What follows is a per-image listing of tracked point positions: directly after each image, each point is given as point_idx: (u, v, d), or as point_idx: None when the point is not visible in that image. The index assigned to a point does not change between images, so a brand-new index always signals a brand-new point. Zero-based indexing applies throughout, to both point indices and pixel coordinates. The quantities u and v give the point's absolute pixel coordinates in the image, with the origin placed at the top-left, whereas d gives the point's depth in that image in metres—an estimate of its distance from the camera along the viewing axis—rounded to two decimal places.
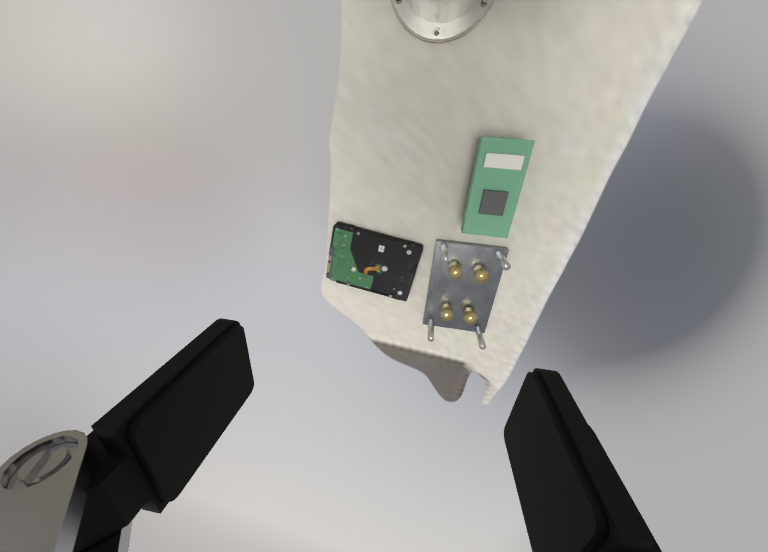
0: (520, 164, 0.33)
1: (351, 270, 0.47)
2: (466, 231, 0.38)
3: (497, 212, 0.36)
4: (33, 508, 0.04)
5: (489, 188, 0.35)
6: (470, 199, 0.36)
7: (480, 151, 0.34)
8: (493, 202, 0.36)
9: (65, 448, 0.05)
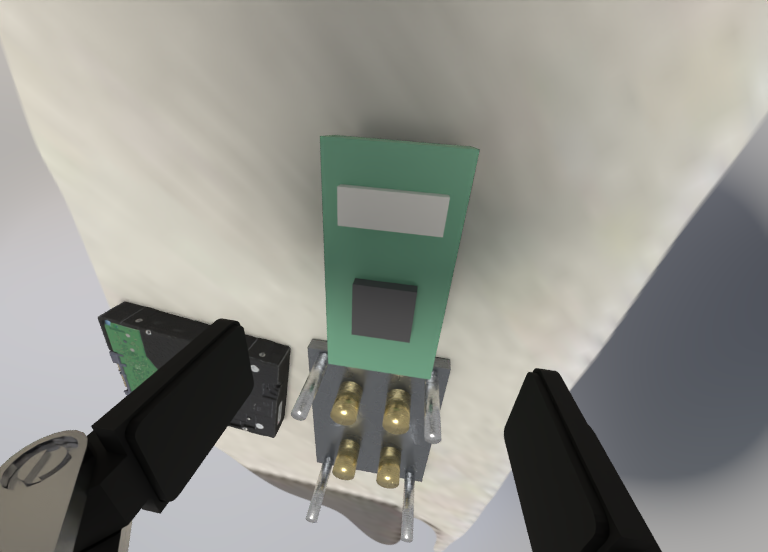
0: (440, 221, 0.11)
1: None
2: (336, 361, 0.16)
3: (395, 334, 0.14)
4: (33, 508, 0.04)
5: (369, 276, 0.13)
6: (328, 298, 0.14)
7: (324, 180, 0.11)
8: (380, 312, 0.13)
9: (65, 448, 0.05)
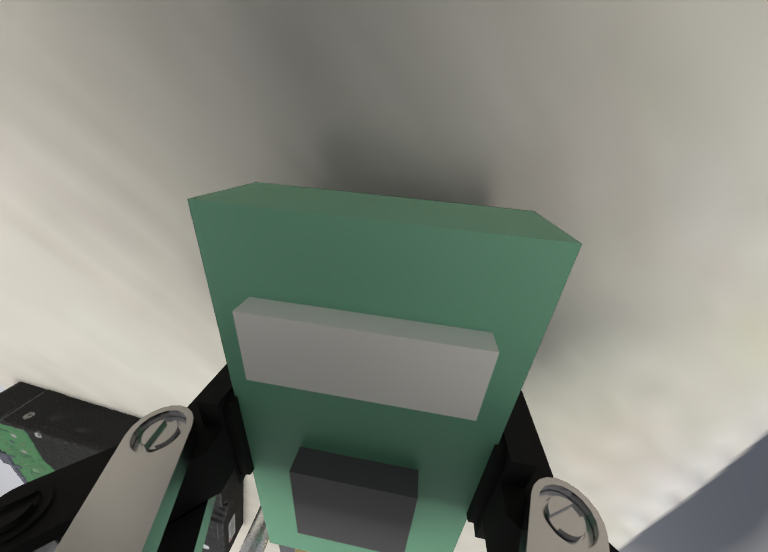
0: (471, 393, 0.05)
1: None
2: (282, 542, 0.10)
3: (377, 544, 0.07)
4: (144, 477, 0.05)
5: (325, 446, 0.07)
6: (256, 467, 0.08)
7: (215, 288, 0.05)
8: (347, 514, 0.07)
9: (176, 422, 0.06)
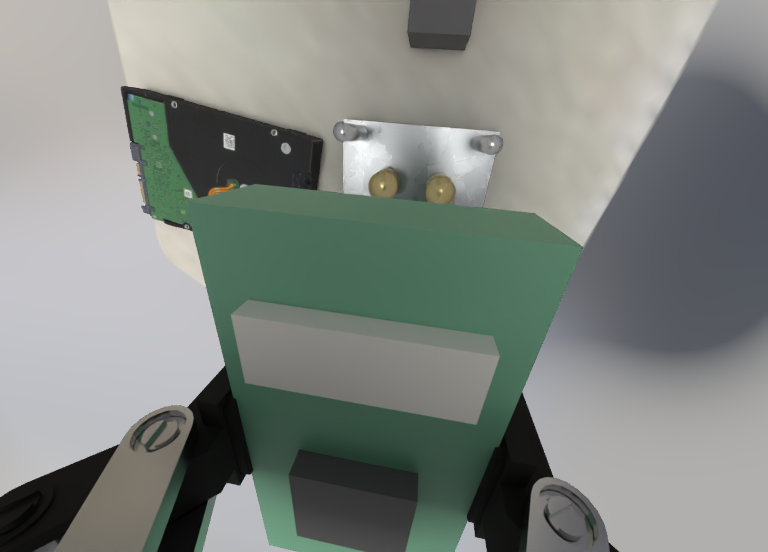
0: (471, 397, 0.05)
1: (185, 197, 0.23)
2: (281, 544, 0.10)
3: (376, 547, 0.07)
4: (145, 476, 0.05)
5: (325, 449, 0.07)
6: (255, 470, 0.08)
7: (213, 290, 0.05)
8: (347, 517, 0.07)
9: (177, 422, 0.06)
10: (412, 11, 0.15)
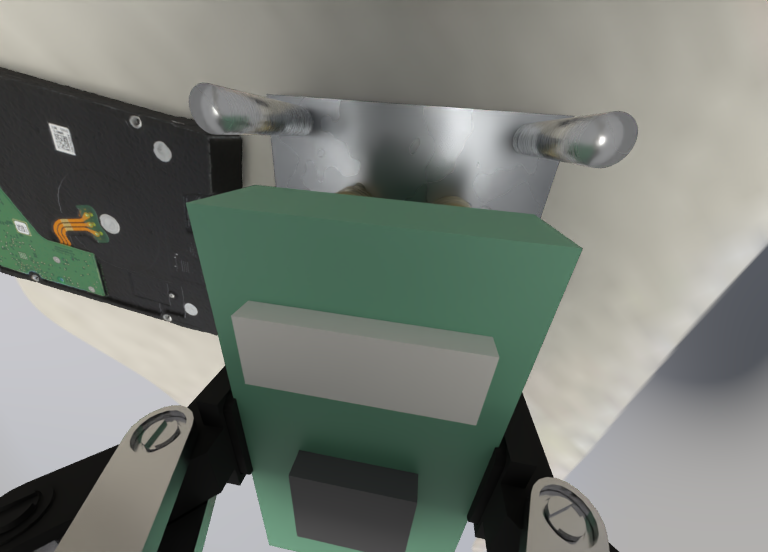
0: (471, 398, 0.05)
1: (19, 233, 0.14)
2: (281, 544, 0.10)
3: (376, 547, 0.07)
4: (145, 477, 0.05)
5: (325, 450, 0.07)
6: (255, 470, 0.08)
7: (214, 291, 0.05)
8: (347, 518, 0.07)
9: (177, 422, 0.06)
10: None
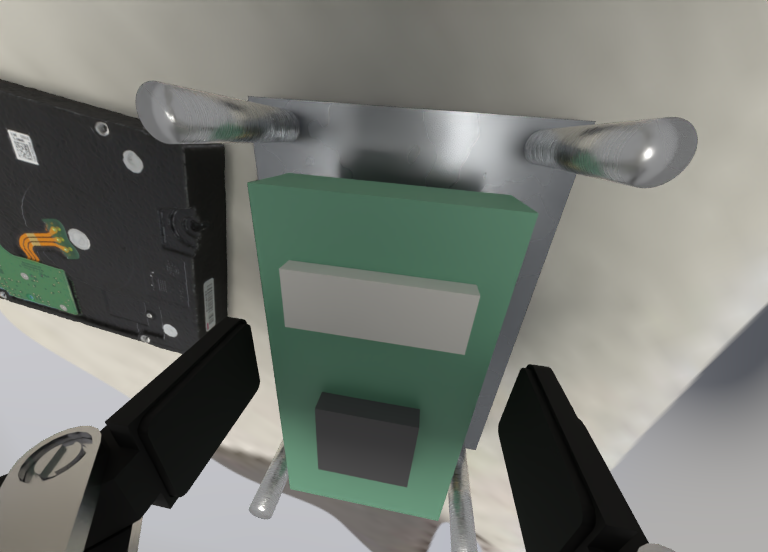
0: (460, 331, 0.06)
1: None
2: (301, 487, 0.11)
3: (385, 475, 0.09)
4: (48, 503, 0.05)
5: (343, 391, 0.08)
6: (283, 413, 0.09)
7: (262, 253, 0.07)
8: (361, 447, 0.08)
9: (80, 443, 0.06)
10: None
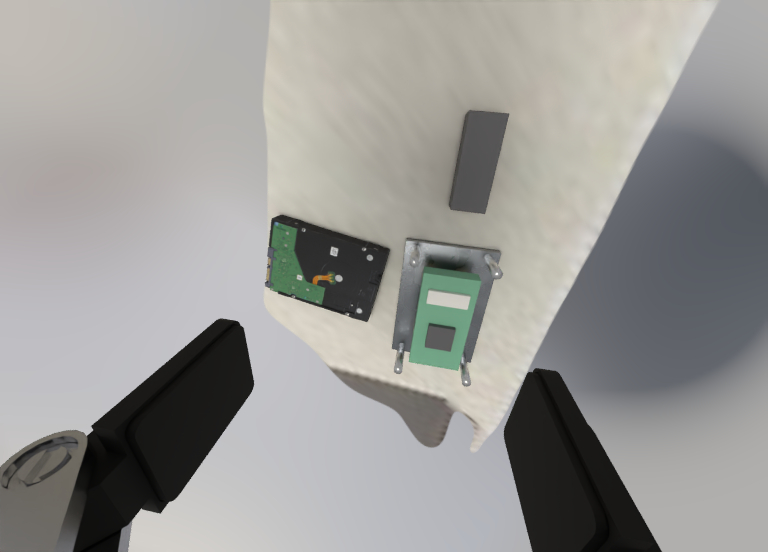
0: (466, 304, 0.30)
1: (297, 279, 0.36)
2: (413, 360, 0.34)
3: (444, 347, 0.32)
4: (33, 508, 0.04)
5: (435, 322, 0.32)
6: (415, 331, 0.32)
7: (422, 286, 0.30)
8: (439, 337, 0.32)
9: (65, 448, 0.05)
10: (454, 201, 0.29)
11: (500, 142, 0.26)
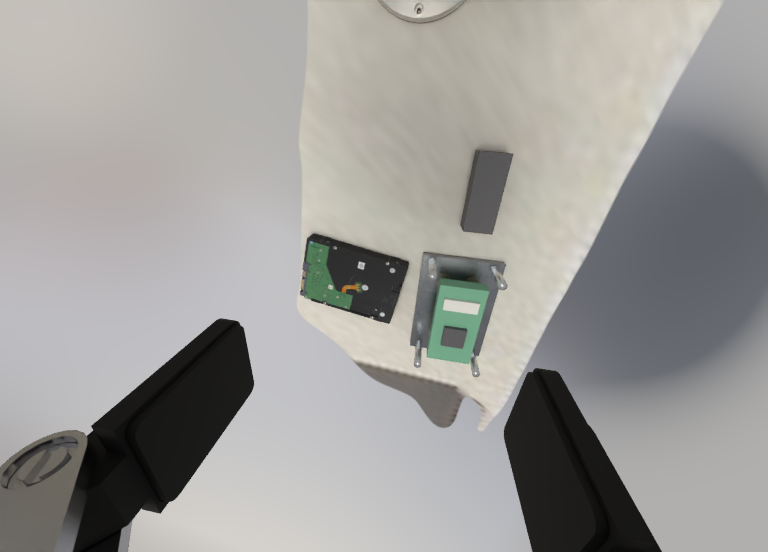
0: (476, 310, 0.35)
1: (328, 288, 0.42)
2: (430, 356, 0.40)
3: (457, 345, 0.38)
4: (33, 508, 0.04)
5: (449, 324, 0.37)
6: (432, 332, 0.38)
7: (439, 296, 0.36)
8: (453, 337, 0.37)
9: (65, 448, 0.05)
10: (465, 224, 0.34)
11: (505, 177, 0.31)
